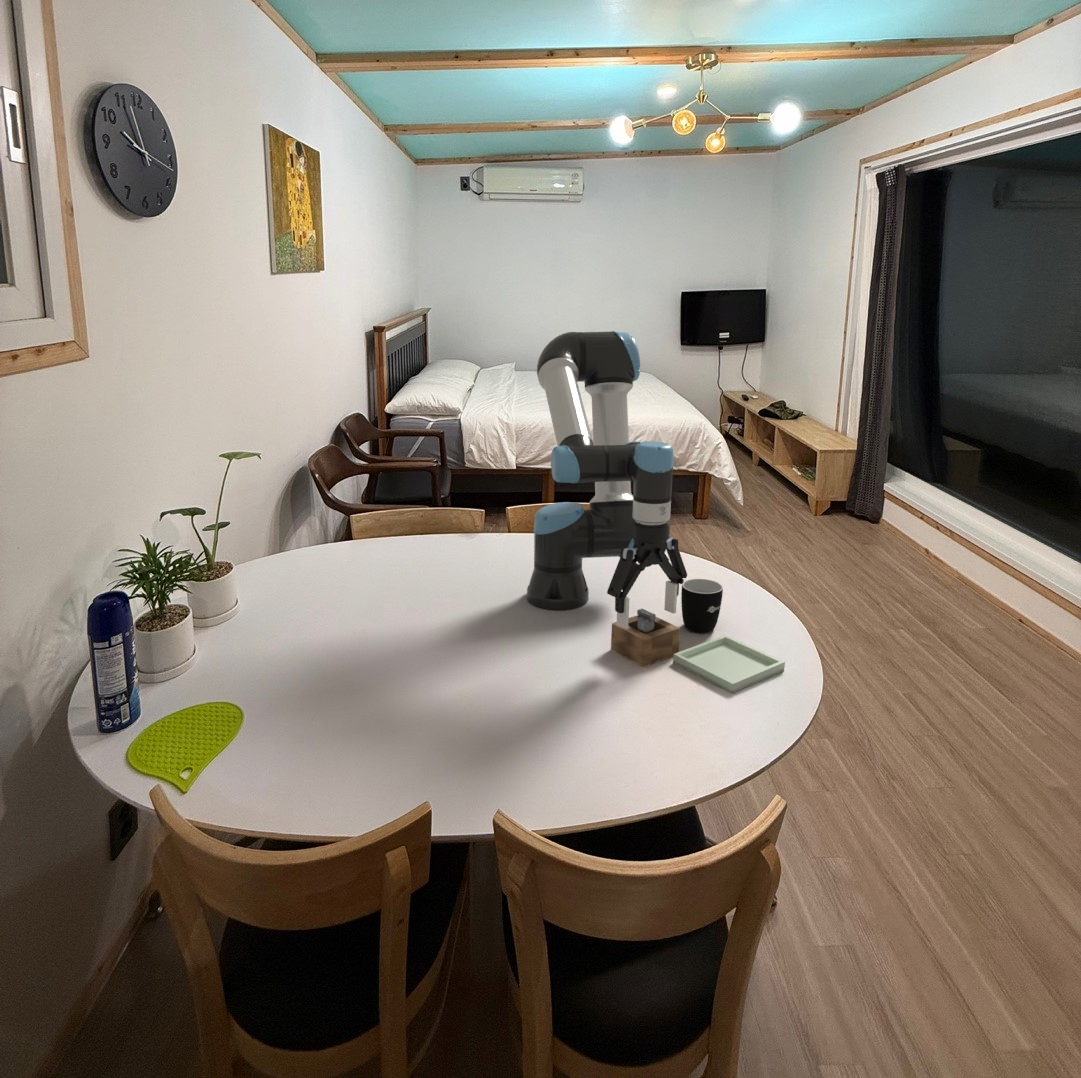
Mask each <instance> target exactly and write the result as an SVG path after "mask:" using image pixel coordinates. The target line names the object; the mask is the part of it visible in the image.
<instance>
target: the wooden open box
mask: <svg viewBox="0 0 1081 1078" xmlns="http://www.w3.org/2000/svg"><path fill="white" fill-rule="evenodd" d="M637 617H638V615H637V614H636V615H633V616H631V617H630V616H629V620H628V628H627V629H624V628H622V627H620V626H618V625H616V624H617V621H616V622H611V638H610V650H612V651H614V652H615V653H618V655H621V656H622V657H624V658H626V659H627V660H629V661H632V662H633V663H636V664H637V665H639V666H640V667H643V668H644V667H645V668H646V667H647V666H650V665H653V664H656V663H658V662H661V661H663V660H666V659H669V658H672V657H673V656H674V654H675V653H678V652H680V651H679V650H680V637H681V636H680V635H681V634H680V633H681V627H680V626H677V625H675V624H673V623H670V622H669V621H666V620H664V619H662V618H660V617H658V616H656V618H655V626H654V631H653V632H650V633H647V634H644V633H642V632H640V631H638V630H637Z"/></svg>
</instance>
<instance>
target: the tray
mask: <svg viewBox="0 0 1081 1078" xmlns="http://www.w3.org/2000/svg"><path fill="white" fill-rule="evenodd" d="M672 657H673V659H672V660H673V661H672V663H673V664H674V665H677V666H678V667H680V668H682V669H684V670H686V671H688V672H690V673H691V674H694V675H696V676H697V677H700V678H701V679H703V680H705V681H707V682H709V683H711V684H713V685H715V686H717V687H719V688H721V689H723V690H725V691H726V692H728V693H731V694H735V693H736V692H739V691H741V690H743V689H746V688H748V687H750V686H753V685H755V684H757V683H760V682H762V681H764V680H766V679H769V678H771V677H773V676H776V675H778V674H780V673H782V672H784V671H785V665H786V662H785V661H783V660H782V659H780V658H777V657H775V656H772V655H771V654H769V653H766V652H764V651H761V650H760V649H757V648H755V647H753V646H750V645H748V644H746V643H743V642H742V641H739V640H737V639H735V638H732V637H730V636H728V635H726V634H724V635H720V636H719V637H716V638H713V639H711V640H708V641H705V642H702V643H700V644H696V645H694V646H692V647H689V648H686V649H684V650H681V651H679V652H678V653H675V654H674V656H672Z"/></svg>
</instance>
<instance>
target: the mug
mask: <svg viewBox="0 0 1081 1078" xmlns="http://www.w3.org/2000/svg"><path fill="white" fill-rule="evenodd" d="M723 591H724V588H723V585H722V583H719V582H718V581H715V580H712V579H705V578H692V579H688V580H684V582H683V584H681V593H680V595H681V597H680V598H681V599H680V600H681V601H680V602H681V603H680V604H681V614H682V616H681V617H682V622H683V625H684V627H685V629H686V630H688V631H689V632H691V633H695V634H696V633H697V634H707V633H708V634H709V633H711V632H712V631H714V629H715V628H716V625H717V623H718V621H719V620H718V619H719V616H720V612H721V607H722V600H723V595H724V594H723V593H724V592H723Z"/></svg>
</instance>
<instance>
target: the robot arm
mask: <svg viewBox="0 0 1081 1078" xmlns="http://www.w3.org/2000/svg"><path fill="white" fill-rule="evenodd" d="M640 367H641V357H640V352H639V347H638V344H637V341H636V339H635V337H633V335H632V334H631V333H628V332H625V331H624V332H623V331H614V330H612V331H569V332H565V333H562V334H558V336H556V337H554V338H553V339H552V340H550V341H549V342H548V344H547V345H545V347H544V348H543V350H542V352H541V353H540V356H539V358H538V360H537V365H536V375H537V380H538V382H539V385H540V387H541V388H542V389H543V390H544V392H545V395H546V400H547V404H548V409H549V413H550V419H551V422H552V423H551V424H552V428H553V431H554V435H555V440H556V441H555V442H556V444H557V446H555V447H553V448H552V450H551V453H550V454H551V455H550V468H551V476H552V479H553V480H554V481H555V482H557V483H565V484H566V483H567V484H569V483H570V484H579V483H580V484H581V483H582V484H584V483H594V490H595V491H594V492H595V495H594V496H593V497H592V498H591V499H590V501H589V509H588V508H587V509H585V508H584V506H583V505H582V503H578V502H576V501H575V502H570V501H563V502H555V503H552V504H548V505H545V506H543V507H542V508H539V510H537V512H536V513H535V516H534V523H533V528H532V529H533V534H534V545H533V549H534V550H533V552H534V553H533V570H532V574H531V577H530V581H529V584H528V586H527V589H526V599H527V601H528V603H530V604H531V605H533V606H535V607H538V608H541V609H546V610H554V611H556V610H558V611H560V610H561V611H562V610H572V609H576V608H579V607H582V606H584V605H585V604H587V602H588V601H589V594H590V593H589V587H588V584H587V580H586V577H585V574H584V572H583V559H586V558H591V559H593V558H613V557H614V558H615V557H618V558H619V560H618V562H617V564H616V567H615V569H614V573H613V575H612V578H611V580H610V583H609V585H608V588H607V591H606V593H607V595H609V596H611V597H613V598H614V600H615V601H614V610H615V613H616V622H617V624H616V625H618V626H620V627H622V628H624V629H627V628H628V620H629V618H630V615H629V613H630V611H629V610H630V597H628V595H629V593H630V591H631V589H632V588H633V587H634V585H635V583H636V581H637V579H638V578H639V576H640V574H641V572H643V571H645V569H646V568H648V567H651V566H655V565H658V566H659V567H660V568H661V570H662V571H663V572H664V574H665V575H666V577H667V578H668V580H666V581H665V589H664V592H665V595H664V611H666V612H668V613H671V614H674V615H675V614H677V604H678V603H677V601H678V597H679V595H680V594H679V591H680V585H682V584H683V582H685V579H686V578H687V577H688V572H687V570H686V566H685V564H684V561H683V559H682V554H681V553H680V549H679V540H678V538H674V537H671V536H670V535H671V534H670V531H671V530H670V529H671V523H670V521H669V520H670V519H671V510H672V509H671V507H672V506H671V504H672V493H673V492H672V491H673V489H672V488H673V474H674V473H673V472H674V465H675V459H674V448H673V446H672V445H671V444H670V443H668V442H663V441H656V440H653V441H652V440H651V441H650V440H649V441H635V440H634V441H633V440H632V441H630V440H629V439H630V438H629V434H630V433H629V413H628V412H629V411H628V409H629V408H628V394H629V393H630V391H631V390H632V389H633V388H634V383H633V382H635V381H637V380H638V379H639V377H640V373H641V369H640ZM578 382H584V390H585V392H586V393H588V394H589V395H590V397H591V418H592V421H591V422H592V432H591V429H590V425H589V421H588V418H587V414H586V411H585V406H584V403H583V399H582V396H581V392H580V391H581V390H580V388H579V385H578ZM632 482H633V494H632V488H631V487H632V485H631V483H632ZM666 552H667V555H668V556H667V555H666Z"/></svg>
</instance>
